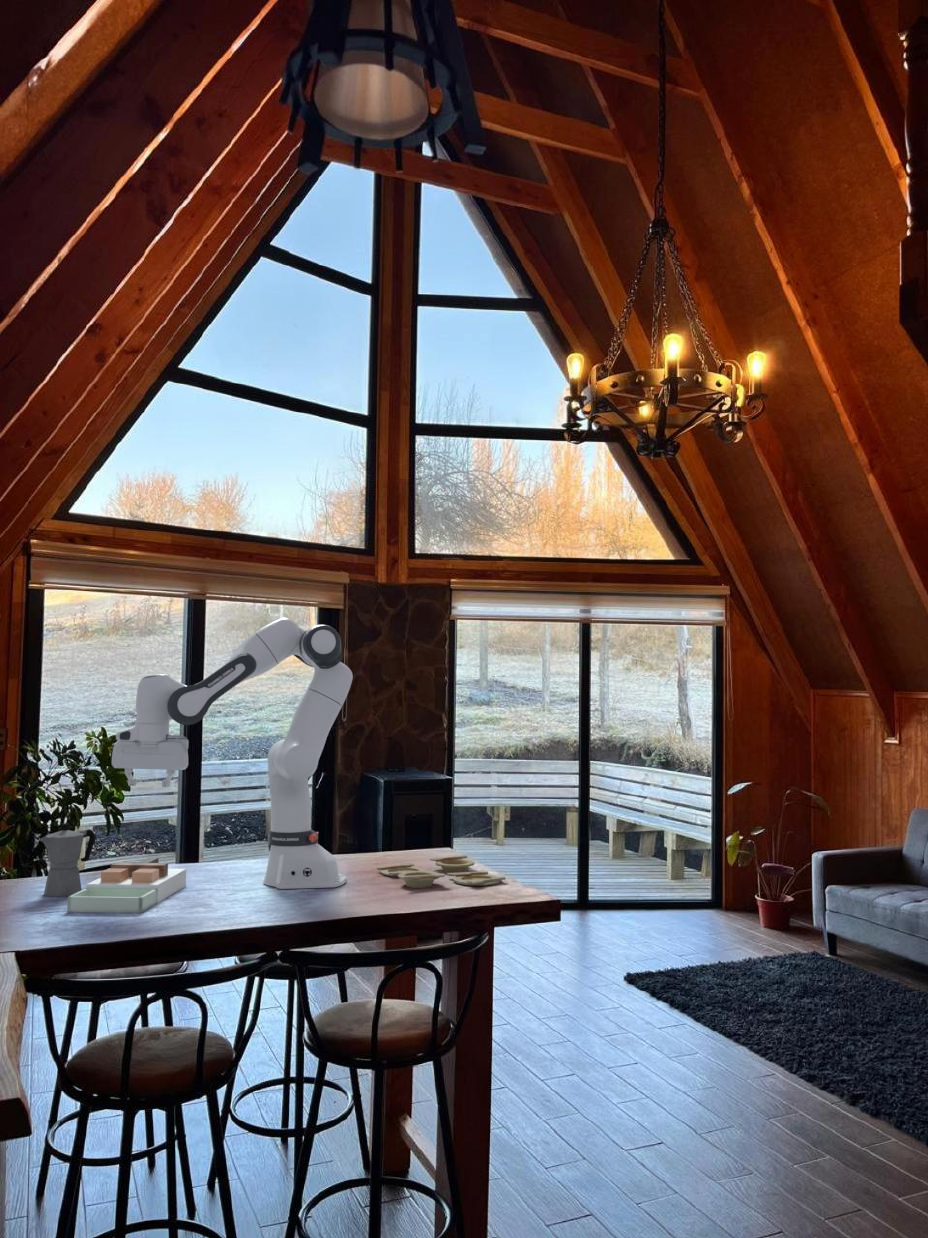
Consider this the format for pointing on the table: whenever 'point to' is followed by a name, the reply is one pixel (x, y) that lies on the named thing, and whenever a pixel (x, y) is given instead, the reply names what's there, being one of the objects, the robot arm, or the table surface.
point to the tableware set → (449, 864)
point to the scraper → (144, 866)
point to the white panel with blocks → (149, 884)
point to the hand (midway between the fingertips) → (148, 786)
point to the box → (112, 900)
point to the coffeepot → (65, 860)
